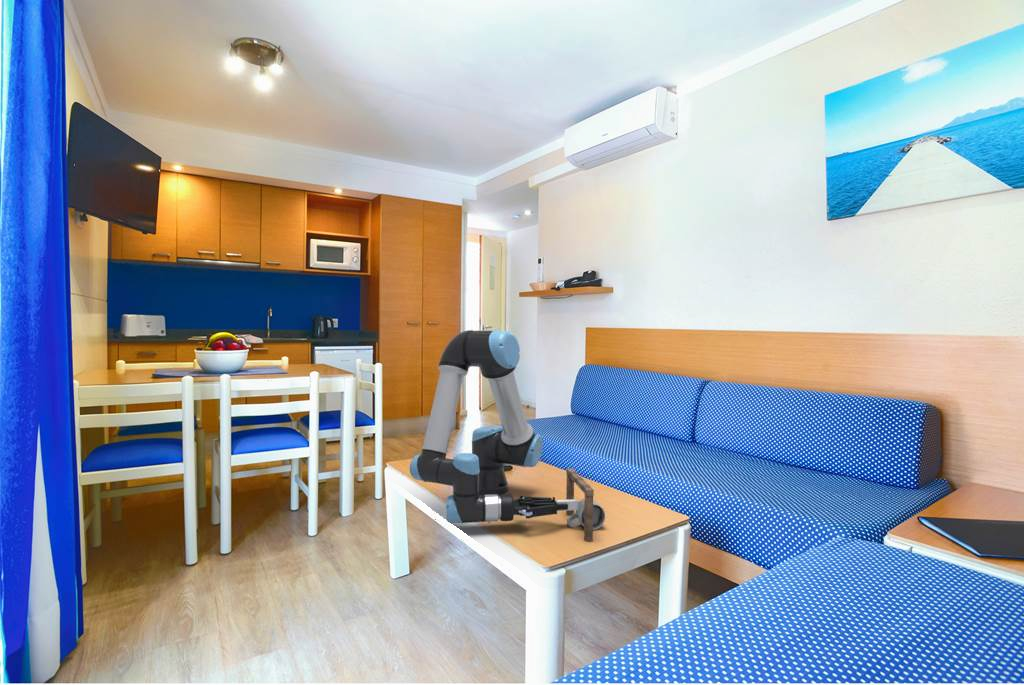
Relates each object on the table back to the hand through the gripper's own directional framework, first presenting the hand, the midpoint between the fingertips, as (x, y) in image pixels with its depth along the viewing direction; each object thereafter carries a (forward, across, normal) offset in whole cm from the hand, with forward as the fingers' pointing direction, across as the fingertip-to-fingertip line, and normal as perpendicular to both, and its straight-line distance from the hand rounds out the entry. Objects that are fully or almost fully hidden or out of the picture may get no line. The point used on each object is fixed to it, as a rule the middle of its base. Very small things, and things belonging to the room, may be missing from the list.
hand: (577, 504), depth 146 cm
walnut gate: (+1, 0, -6) cm, 7 cm away
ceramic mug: (+3, 0, -7) cm, 7 cm away
